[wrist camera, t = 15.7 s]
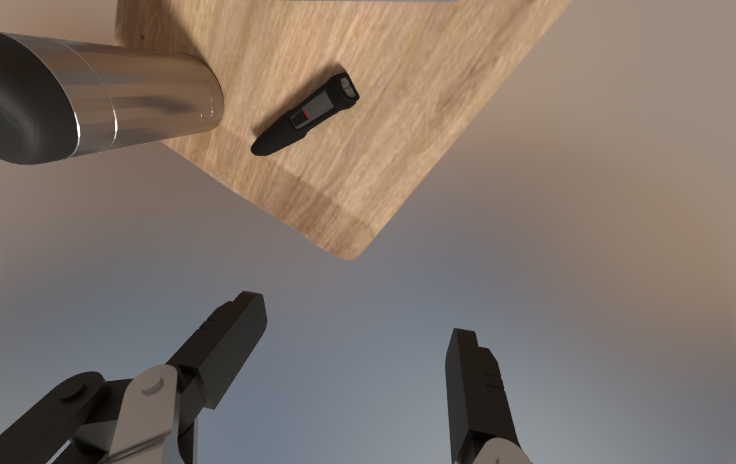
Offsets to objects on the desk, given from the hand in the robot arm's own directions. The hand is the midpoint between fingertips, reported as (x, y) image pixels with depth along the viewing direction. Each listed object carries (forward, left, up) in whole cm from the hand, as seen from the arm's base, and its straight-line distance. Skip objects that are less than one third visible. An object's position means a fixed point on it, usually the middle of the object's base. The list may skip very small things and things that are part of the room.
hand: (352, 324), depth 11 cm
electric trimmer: (-14, +4, -27) cm, 31 cm away
